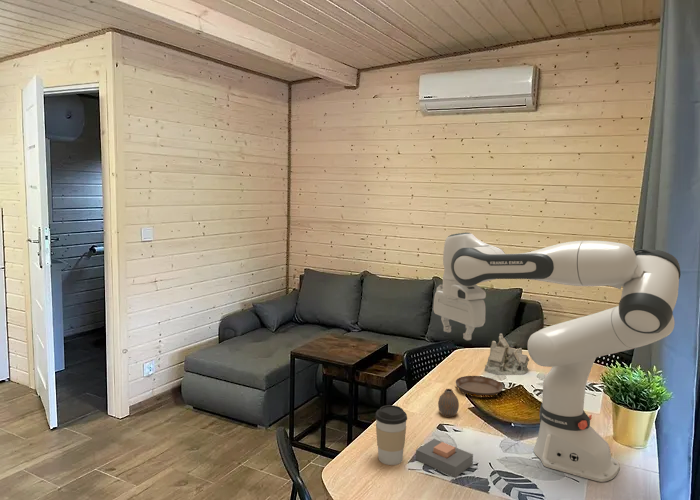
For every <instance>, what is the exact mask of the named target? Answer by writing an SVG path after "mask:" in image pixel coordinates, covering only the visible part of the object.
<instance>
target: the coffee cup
mask: <svg viewBox="0 0 700 500" xmlns="http://www.w3.org/2000/svg"><path fill="white" fill-rule="evenodd" d="M375 420H376V423H375V432H376V444H377V445H376V446H377V454H378V455H377V456H378V460H379V462H380V463H382V464H384V465H387V466H388V465H389V466H396V465H399V464H401V463H403V457H404V448H405V443H406V434H407V433H406V432H407V431H406V430H407V420H408V415H407V413H406V411H404V409H403V408H402V407H400V406H398V405H392V404H390V405H389V404H387V405H383V406H380V408H378V409H377V410H376V411H375Z"/></svg>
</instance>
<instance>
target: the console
mask: <svg viewBox="0 0 700 500" xmlns="http://www.w3.org/2000/svg"><path fill="white" fill-rule="evenodd" d="M441 442H442V441H441V440H438V439H435V438H433V439H431V440H430V441H428V442H426V443H425V444H422V446H420V447H418V448H416V450H415V461H418V462H420V463H422V464H423V465H424V464H425V465H426V466H429V467H431V468H433V469H435V470H438V471H441V472H442V473H444V474H447V475H449V476H451V477H453V478H457V477H458V476H459V475H461V474H462V473H464V472H465V471H466V470H467V469H469V468H471V466H473V465H474V463H473V462H474V454H473V453H470V452H468V451H467V450H462V449H461V448H457V447H456V446H454V447H455V454H453V455H452V456H450V457H449V458H444V457H442V456H440V455H437V454H435V453H433V449H434V447H435V446H437V445H438V444H440V443H441Z"/></svg>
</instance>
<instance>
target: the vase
mask: <svg viewBox="0 0 700 500" xmlns="http://www.w3.org/2000/svg"><path fill="white" fill-rule="evenodd" d="M437 406H438V410H439V412H440V414H441V415H442V416H444V417H446V418H452V417H454V416H455V415H456V414H458V411H459V408H460V407H459V406H460V403H459V399H458V397H457V396H456V394H455V392H454V390H453V389H451V388H446V389H445V390H444V391H443V393H441V395H440V396H439V398H438V405H437Z"/></svg>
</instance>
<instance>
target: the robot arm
mask: <svg viewBox="0 0 700 500" xmlns="http://www.w3.org/2000/svg"><path fill="white" fill-rule="evenodd" d="M443 245H444V246H443V253H442V255H443V257H442V265H443V270H444V272H443V275H442V284H439V285H438V286H437V287H436V291H435V293H434V297H433V309H432V310H433V313H434V315H437V316H440V318H441V319H440V320H441V323H442V326H443V332H444V333H447V334H448V333H451V332H452V325H450V320H451V321H454V322H456V323H460V324H463V325H465V332H463V333H462V335H463V338H462V339H464V340H465V341H471V340H472V335H473V332H474V330H475V328H481V327H483V326H484V324H485V323H486V303H485V300H484V299H486V297H487V294H486V293H487V292H486V291H485V290H484V289H483V288H482V287H480V286H479V285H478V284H481V283H484V282H490V281H494V280H532V281H538V282H546V283H553V284H559V285H564V286H574V287H607V286H608V287H612V288H614V289H618V290H621V289H622V291H621V295H620V296H621V297H620V300H619V302H618V305H617V306H614V307H610V308H607V309H605V310H601V311H598V312H595V313H592V314H588V315H584V316H580V317H577V318H574V319H570V320H567V321H563V322H559V323H556V324H553V325H550V326H547V327H543V328H541V329H539V330H538V331H537V330H536V331H535V332H533V333H532V334H530V335H529V338H528V340H527V344H526V345H527V352H528V355H529V356H530V359H531V360H532V362H534V363H535V364H536V365H538V366H540V367H547V368H548V367H549V368H550V367H551V369H550V370H549V372H547V374H546V375H545V377H544V379H543V384H542V386H543V387H542V401H541V404H540V407H539V424H540V425H539V429H538V434H537V438H536V440H535V444H534V446H533V452H534V454H535V456H537V458H539V460H540V461H541V462H542V465H543V467H546V468H549V469H553V470H555V471H560V472H563V473H566V474H570V475H574V476H577V477H581V478H585V479H588V480H592V481H595V482H597V483H598V482H600V483H605V482H608V481H611V480H612V479H614V478H615V477H616V476H617V475H618V474H619V472H620V463H619V462H618V459H617V458H616V459H615V458H614V457H612V456H611V448H610V445H609V443H608V441H606V440H605V439H604V438H603V437H602V436H601V435H600V434H599V433H598V432H597V431H596V430H595V429H594V428H593V427H592V426H591V421H592V418H593V417H592V414H590V415H589V416H588V414H587V413H586V412H585V410H584V407H585V396H586V395H585V394H586V388H587V382H588V380H589V379H588V378H589V376H590V374H591V371H592V368H593V366H594V363H595V360H596V359H597V358H599V357H604V356H607V355H612V354H616V353H621V352H624V351H629V350H634V349H637V348H641V347H644V346H647V345H650V344H653V343H656V342H657V341H658V342H659V341H660V340H663V339H664V338H666V337H668V336H670V334H672V333H673V331H674V328H675V323H676V322H675V318H674V314H673V312H674V309H675V307H676V304H677V300H678V296H679V285H680V281H679V280H680V278H681V276H682V275H681V274H682V273H681V265H680V263H679V260H678V259H677V258H676V257H675V256H674V255H672V254H671V253H669V252H666V251H664V250H660V249H653V248H652V249H649V248H648V249H647V248H646V249H645V248H639V249H635V250H634V249H633V248H632V247H631V246H630V245H628V244H625V243H621V242H615V241H606V240H576V241H575V240H573V241H567V242H561V243H557V244H554V245H549V246H546V247H543V248H538V249H536V250H531V251H528V252H521V253H505V252H504V250H503V249H502V248H500V247H498V246H495V245H491V244H489V243H486V242H484V241H482V240H481V239H480V238H477V237H476V236H475V235H474V234H473V233H472V232H460V233H459V232H458V233H453V234H452V233H451V234H450V235H448V236H447V237H446V238H445V241H444V244H443Z"/></svg>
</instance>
